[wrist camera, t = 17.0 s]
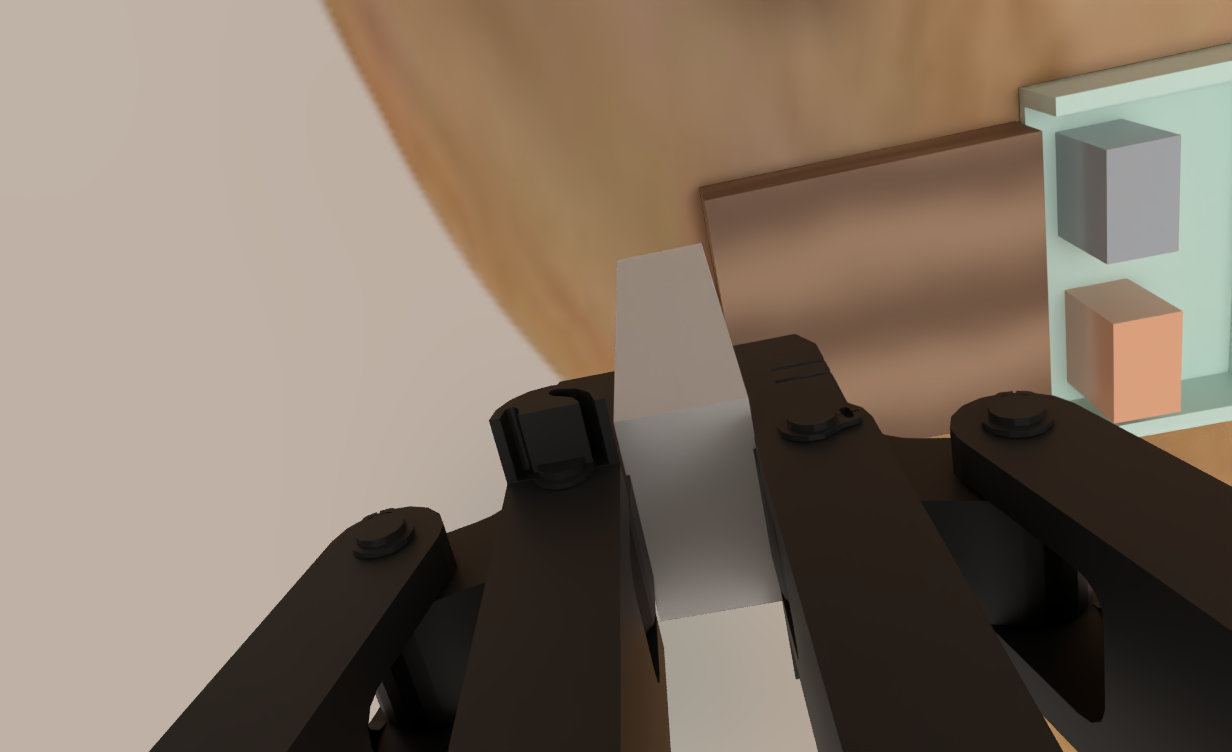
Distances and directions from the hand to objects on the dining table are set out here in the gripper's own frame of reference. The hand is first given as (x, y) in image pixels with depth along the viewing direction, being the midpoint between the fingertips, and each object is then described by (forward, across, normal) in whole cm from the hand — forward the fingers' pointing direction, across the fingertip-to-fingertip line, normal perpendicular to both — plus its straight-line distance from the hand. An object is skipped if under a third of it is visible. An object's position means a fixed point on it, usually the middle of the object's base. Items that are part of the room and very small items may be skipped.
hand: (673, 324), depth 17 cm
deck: (+29, +10, -11) cm, 33 cm away
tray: (+29, +22, -11) cm, 39 cm away
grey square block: (+26, +18, -7) cm, 33 cm away
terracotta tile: (+26, +19, -15) cm, 36 cm away
